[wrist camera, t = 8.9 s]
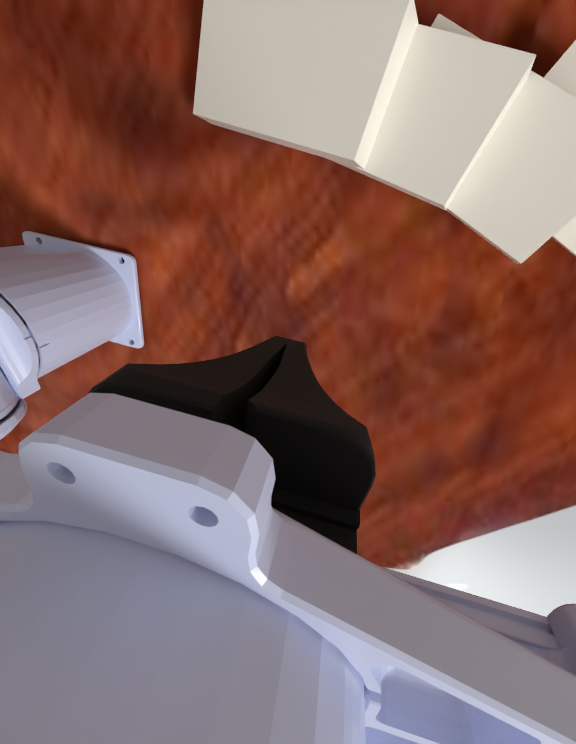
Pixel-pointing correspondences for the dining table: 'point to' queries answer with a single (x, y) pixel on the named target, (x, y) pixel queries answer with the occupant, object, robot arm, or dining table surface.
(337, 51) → the domino
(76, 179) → the dining table surface
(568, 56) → the domino
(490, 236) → the domino
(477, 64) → the domino
